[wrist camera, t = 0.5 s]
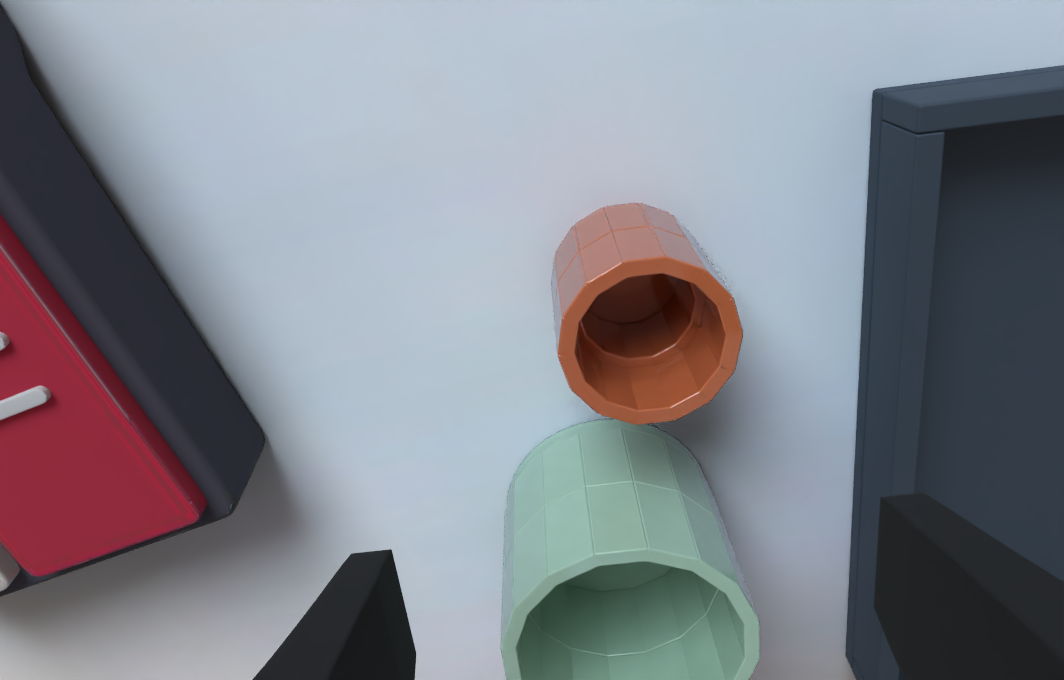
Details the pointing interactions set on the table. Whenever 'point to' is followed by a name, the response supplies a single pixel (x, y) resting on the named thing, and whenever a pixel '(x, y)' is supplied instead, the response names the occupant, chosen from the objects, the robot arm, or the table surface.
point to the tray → (961, 323)
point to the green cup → (620, 564)
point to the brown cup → (641, 316)
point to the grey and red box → (95, 368)
